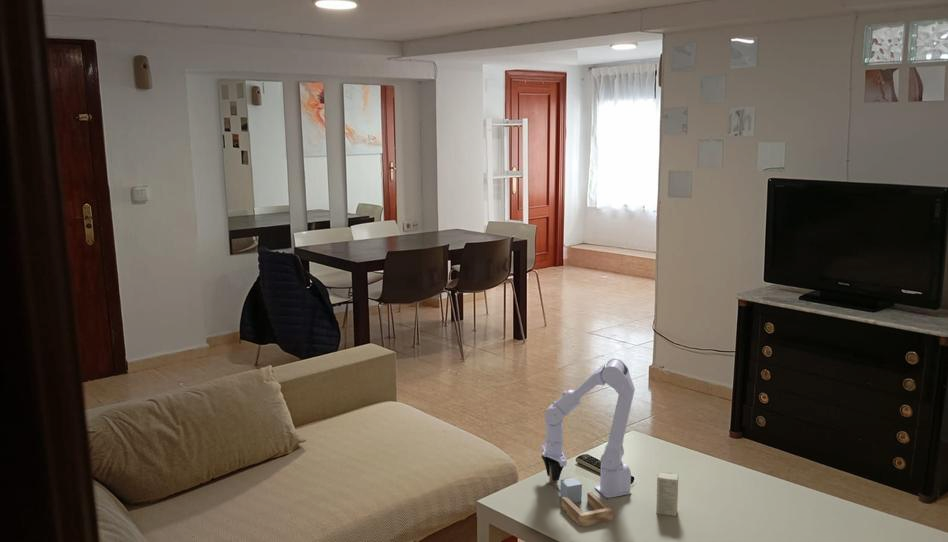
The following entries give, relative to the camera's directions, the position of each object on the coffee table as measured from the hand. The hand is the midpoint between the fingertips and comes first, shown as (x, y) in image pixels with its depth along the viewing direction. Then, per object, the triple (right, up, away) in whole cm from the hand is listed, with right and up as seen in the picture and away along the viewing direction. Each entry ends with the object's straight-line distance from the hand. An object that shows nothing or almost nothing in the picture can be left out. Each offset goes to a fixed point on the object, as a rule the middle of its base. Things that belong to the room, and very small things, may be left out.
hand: (553, 477), depth 257 cm
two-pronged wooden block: (+8, -5, -20) cm, 22 cm away
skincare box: (+33, -6, -19) cm, 39 cm away
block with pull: (+3, -3, -6) cm, 7 cm away
